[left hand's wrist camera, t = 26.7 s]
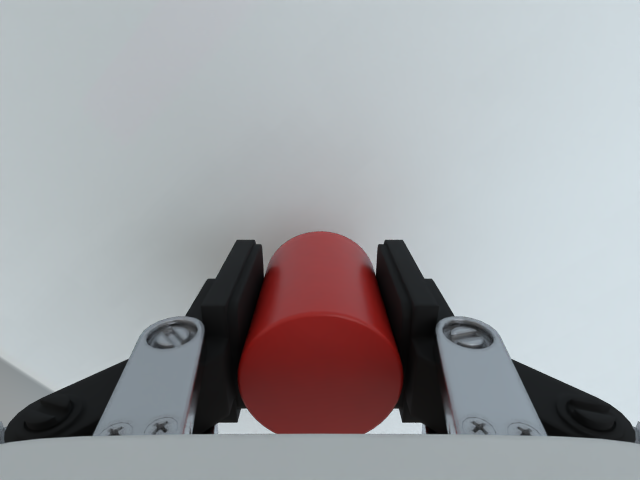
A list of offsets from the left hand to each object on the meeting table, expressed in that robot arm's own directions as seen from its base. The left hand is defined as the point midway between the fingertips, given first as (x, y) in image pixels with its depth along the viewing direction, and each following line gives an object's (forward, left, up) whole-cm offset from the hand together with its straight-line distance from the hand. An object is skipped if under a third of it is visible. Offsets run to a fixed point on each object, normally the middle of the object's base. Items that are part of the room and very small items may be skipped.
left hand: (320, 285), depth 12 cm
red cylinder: (0, 0, 0) cm, 0 cm away
